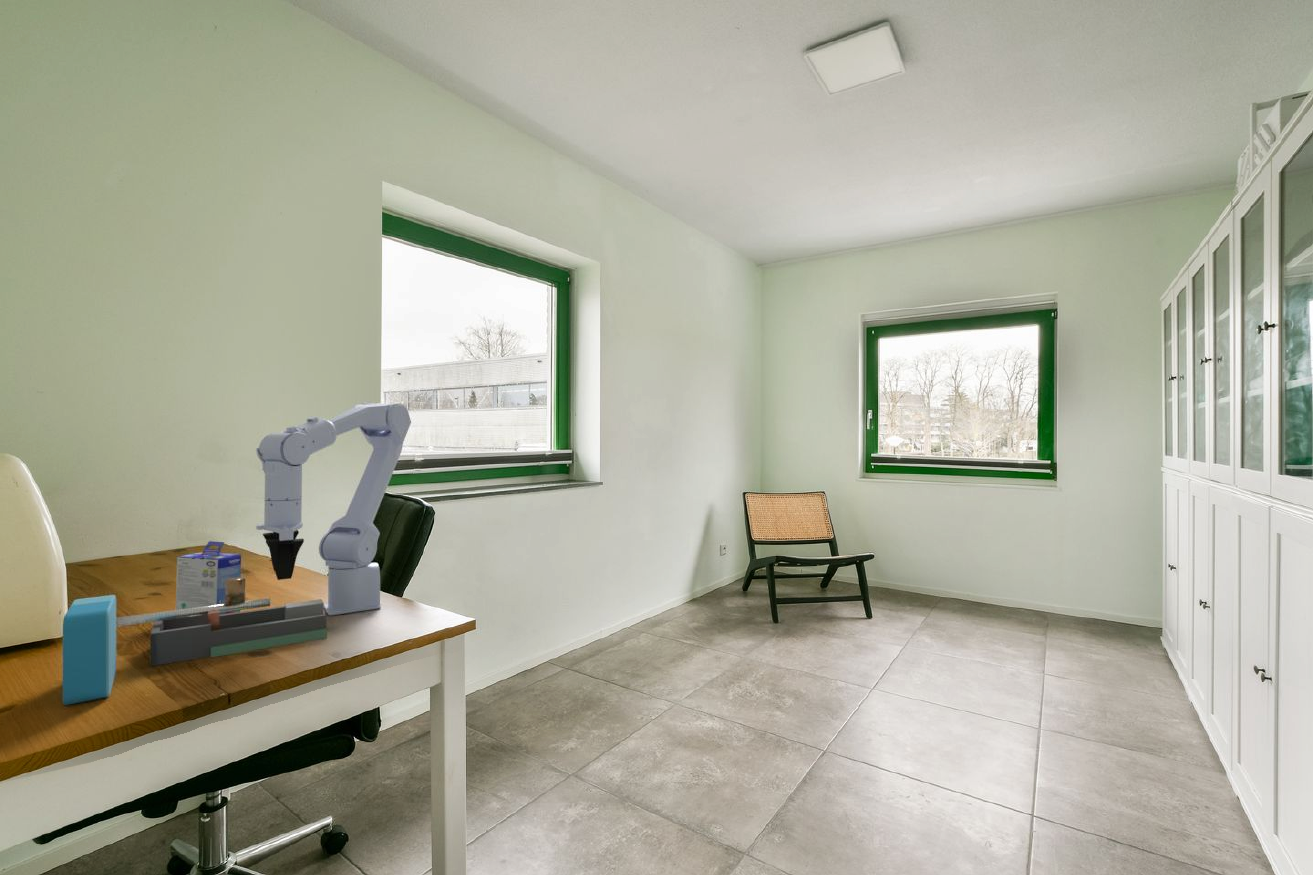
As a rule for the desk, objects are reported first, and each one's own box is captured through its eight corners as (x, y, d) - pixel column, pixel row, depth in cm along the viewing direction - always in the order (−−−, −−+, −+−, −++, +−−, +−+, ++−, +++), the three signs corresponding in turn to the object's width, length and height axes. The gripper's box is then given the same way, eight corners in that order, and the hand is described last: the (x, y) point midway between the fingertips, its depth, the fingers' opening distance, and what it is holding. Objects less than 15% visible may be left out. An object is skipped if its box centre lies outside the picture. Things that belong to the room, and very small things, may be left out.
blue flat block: (75, 678, 89) (75, 597, 88) (116, 671, 91) (116, 592, 91) (62, 709, 79) (62, 617, 79) (108, 700, 82) (108, 611, 82)
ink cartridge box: (243, 615, 119) (243, 541, 119) (217, 624, 114) (217, 547, 113) (201, 611, 121) (201, 539, 121) (174, 620, 116) (174, 544, 115)
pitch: (317, 619, 117) (318, 593, 117) (327, 637, 107) (327, 609, 107) (156, 644, 103) (156, 614, 103) (150, 667, 93) (150, 634, 93)
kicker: (268, 622, 109) (269, 572, 109) (270, 630, 105) (271, 578, 105) (106, 646, 96) (107, 590, 96) (102, 656, 92) (102, 597, 92)
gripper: (254, 496, 113) (253, 569, 113) (259, 504, 101) (258, 585, 101) (298, 494, 117) (297, 565, 117) (307, 502, 105) (306, 580, 105)
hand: (282, 574), depth 110 cm, fingers open, 7 cm apart
